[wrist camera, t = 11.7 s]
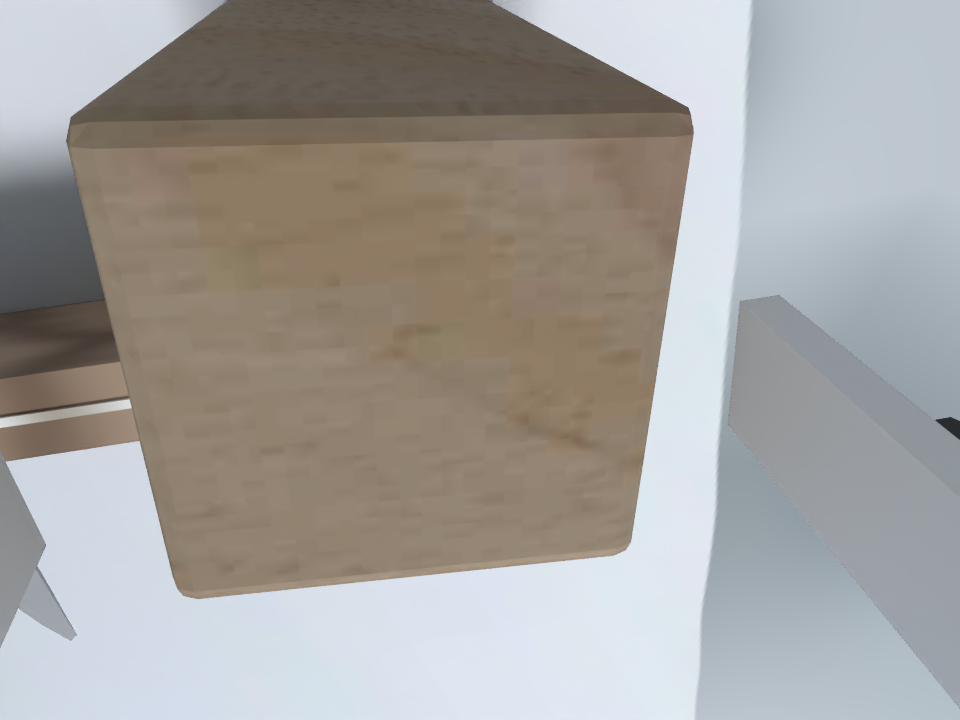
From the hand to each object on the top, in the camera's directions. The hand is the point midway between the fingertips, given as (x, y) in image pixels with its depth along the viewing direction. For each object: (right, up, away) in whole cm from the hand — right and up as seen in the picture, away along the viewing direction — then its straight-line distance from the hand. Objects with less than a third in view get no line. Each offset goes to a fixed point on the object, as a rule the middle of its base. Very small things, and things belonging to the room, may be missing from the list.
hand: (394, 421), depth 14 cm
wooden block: (-3, +11, +18) cm, 21 cm away
